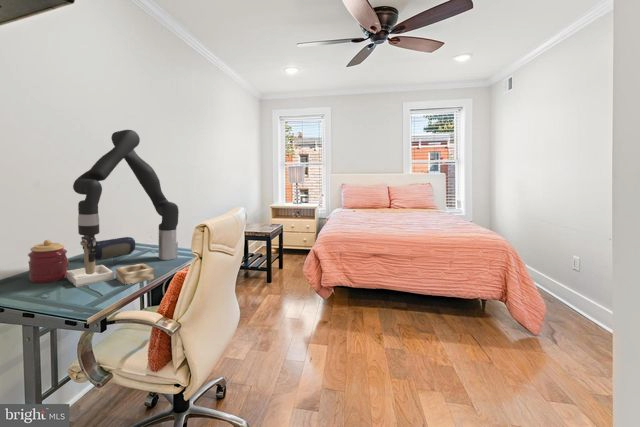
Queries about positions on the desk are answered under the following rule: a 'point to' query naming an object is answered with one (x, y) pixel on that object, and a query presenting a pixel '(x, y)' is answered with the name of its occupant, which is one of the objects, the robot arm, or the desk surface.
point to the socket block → (134, 273)
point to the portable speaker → (114, 247)
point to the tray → (89, 276)
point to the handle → (88, 265)
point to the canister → (47, 262)
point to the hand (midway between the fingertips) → (90, 260)
